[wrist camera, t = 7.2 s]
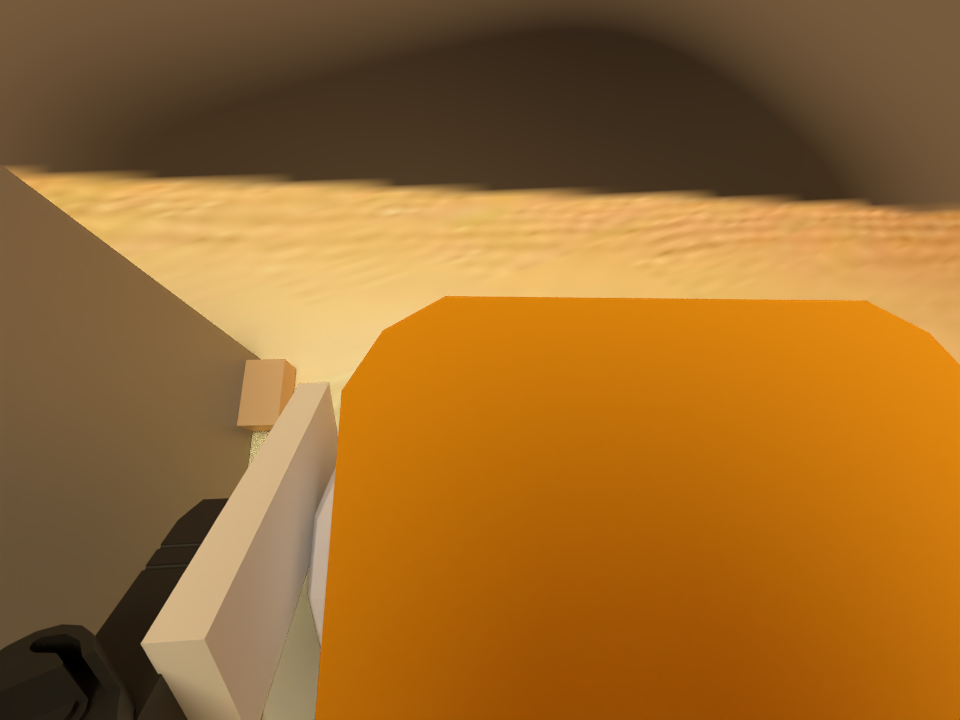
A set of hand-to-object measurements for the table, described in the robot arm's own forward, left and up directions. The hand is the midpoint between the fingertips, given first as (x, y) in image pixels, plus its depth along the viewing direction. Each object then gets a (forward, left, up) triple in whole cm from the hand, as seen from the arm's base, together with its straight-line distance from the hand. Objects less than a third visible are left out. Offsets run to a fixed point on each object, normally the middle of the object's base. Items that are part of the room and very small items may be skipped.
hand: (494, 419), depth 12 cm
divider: (-11, -3, -8) cm, 14 cm away
